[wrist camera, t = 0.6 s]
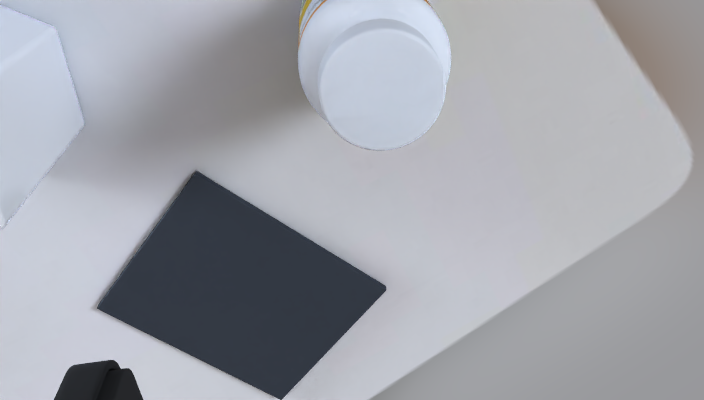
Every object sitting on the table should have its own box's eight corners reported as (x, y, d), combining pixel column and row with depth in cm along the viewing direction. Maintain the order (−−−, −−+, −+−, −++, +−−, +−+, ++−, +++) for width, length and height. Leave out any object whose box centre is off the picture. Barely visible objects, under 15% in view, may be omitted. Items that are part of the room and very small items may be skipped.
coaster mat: (98, 304, 35) (96, 308, 35) (196, 170, 32) (195, 174, 31) (281, 395, 39) (281, 400, 39) (385, 285, 36) (386, 290, 35)
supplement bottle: (420, 74, 30) (465, 167, 21) (304, 81, 30) (302, 176, 21) (422, -49, 27) (474, 0, 19) (294, -43, 27) (289, 9, 19)
